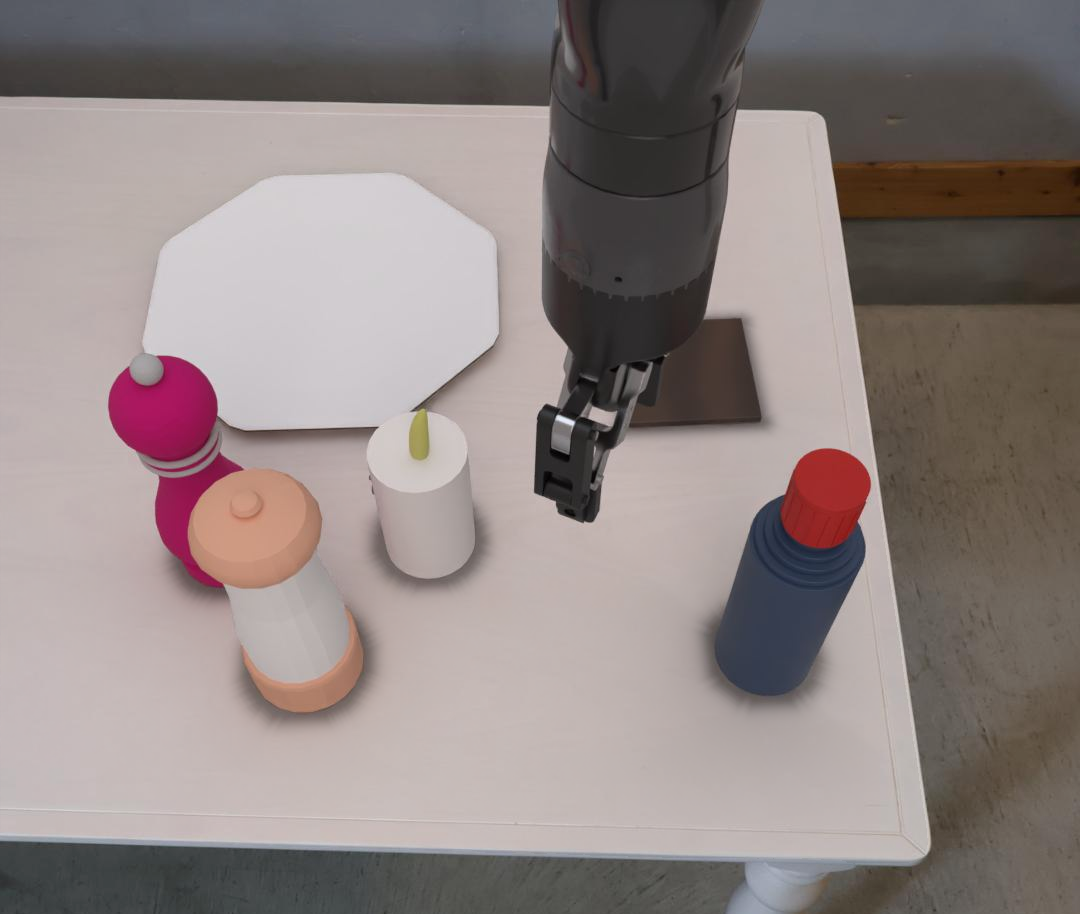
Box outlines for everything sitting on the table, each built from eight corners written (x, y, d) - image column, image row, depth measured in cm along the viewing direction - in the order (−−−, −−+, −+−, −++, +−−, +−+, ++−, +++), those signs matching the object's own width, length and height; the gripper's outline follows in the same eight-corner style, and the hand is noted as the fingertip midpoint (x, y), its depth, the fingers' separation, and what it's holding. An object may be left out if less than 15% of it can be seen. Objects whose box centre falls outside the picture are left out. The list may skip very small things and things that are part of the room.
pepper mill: (159, 536, 78) (54, 344, 61) (252, 489, 80) (176, 291, 63) (202, 612, 75) (103, 432, 58) (298, 562, 77) (231, 373, 60)
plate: (129, 445, 82) (123, 432, 81) (178, 190, 96) (173, 176, 95) (502, 434, 83) (501, 421, 81) (494, 182, 97) (494, 169, 96)
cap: (845, 486, 61) (862, 445, 57) (860, 547, 59) (879, 509, 55) (774, 489, 60) (787, 449, 57) (786, 551, 58) (801, 512, 55)
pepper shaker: (326, 731, 70) (263, 582, 54) (230, 684, 72) (142, 526, 56) (384, 639, 74) (342, 472, 57) (291, 596, 75) (225, 423, 59)
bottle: (802, 606, 75) (878, 431, 59) (820, 693, 72) (906, 533, 55) (708, 611, 75) (758, 437, 58) (722, 698, 72) (779, 540, 55)
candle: (400, 493, 80) (374, 354, 67) (486, 513, 79) (477, 376, 66) (369, 565, 77) (337, 434, 64) (459, 588, 76) (444, 459, 63)
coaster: (740, 322, 89) (741, 317, 88) (760, 421, 83) (762, 417, 83) (615, 328, 88) (616, 322, 88) (628, 428, 83) (629, 423, 83)
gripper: (650, 373, 42) (622, 581, 56) (770, 149, 49) (718, 384, 63) (475, 311, 44) (489, 528, 58) (614, 102, 51) (597, 341, 65)
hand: (609, 453), depth 60 cm, fingers open, 8 cm apart
